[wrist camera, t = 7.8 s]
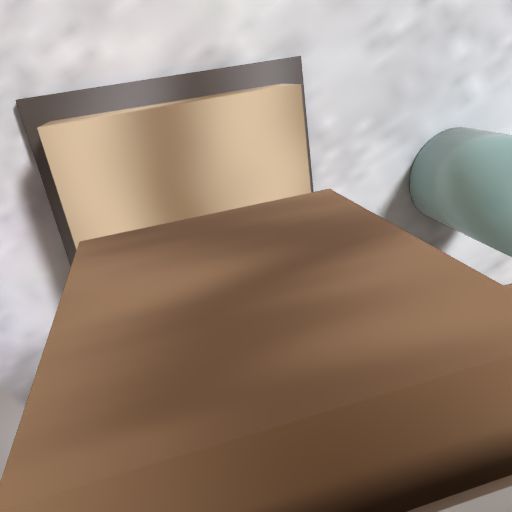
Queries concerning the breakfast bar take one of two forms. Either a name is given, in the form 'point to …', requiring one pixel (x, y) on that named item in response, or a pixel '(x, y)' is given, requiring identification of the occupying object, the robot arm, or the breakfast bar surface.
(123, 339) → the walnut block
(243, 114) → the plinth
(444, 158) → the teal capsule
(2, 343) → the breakfast bar surface
